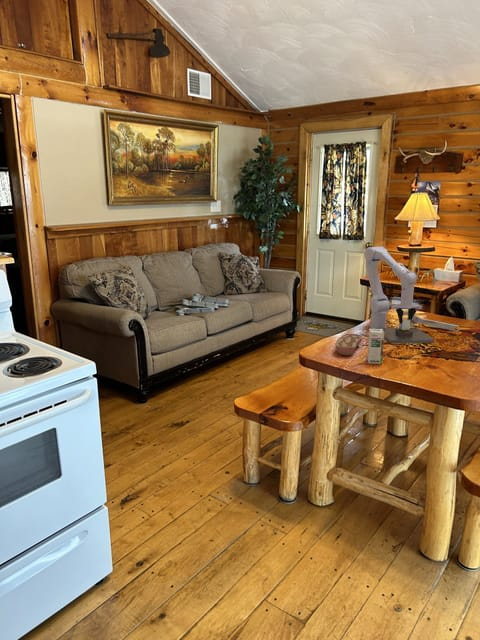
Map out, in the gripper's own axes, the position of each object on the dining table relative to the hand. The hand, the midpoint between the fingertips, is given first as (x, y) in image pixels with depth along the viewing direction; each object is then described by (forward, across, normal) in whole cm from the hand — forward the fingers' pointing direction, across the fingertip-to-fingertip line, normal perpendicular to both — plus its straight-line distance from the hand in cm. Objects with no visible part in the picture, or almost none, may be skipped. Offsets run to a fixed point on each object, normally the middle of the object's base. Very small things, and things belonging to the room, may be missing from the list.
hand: (404, 322), depth 247 cm
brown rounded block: (+8, -34, -20) cm, 40 cm away
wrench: (+8, +20, +15) cm, 26 cm away
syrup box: (+7, -27, -36) cm, 46 cm away
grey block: (+3, 0, 0) cm, 3 cm away
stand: (+7, 0, 0) cm, 7 cm away
